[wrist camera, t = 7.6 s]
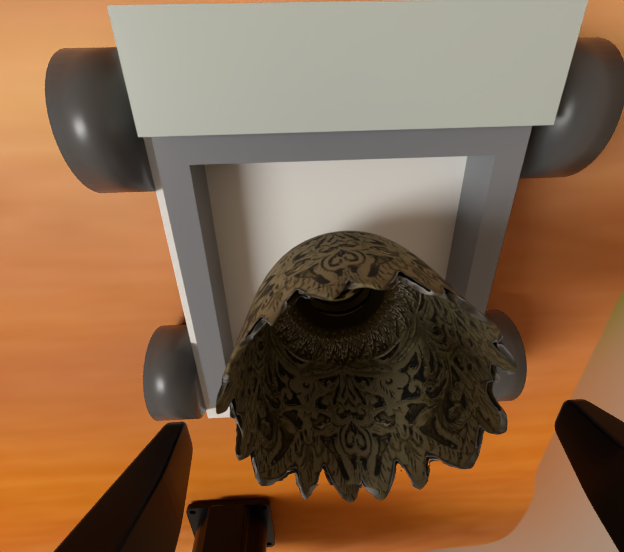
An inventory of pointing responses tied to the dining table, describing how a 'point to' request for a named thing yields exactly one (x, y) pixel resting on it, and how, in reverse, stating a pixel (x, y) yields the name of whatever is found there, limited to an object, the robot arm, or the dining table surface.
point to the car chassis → (327, 144)
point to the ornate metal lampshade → (361, 369)
